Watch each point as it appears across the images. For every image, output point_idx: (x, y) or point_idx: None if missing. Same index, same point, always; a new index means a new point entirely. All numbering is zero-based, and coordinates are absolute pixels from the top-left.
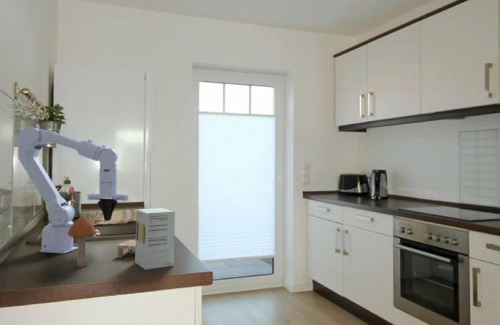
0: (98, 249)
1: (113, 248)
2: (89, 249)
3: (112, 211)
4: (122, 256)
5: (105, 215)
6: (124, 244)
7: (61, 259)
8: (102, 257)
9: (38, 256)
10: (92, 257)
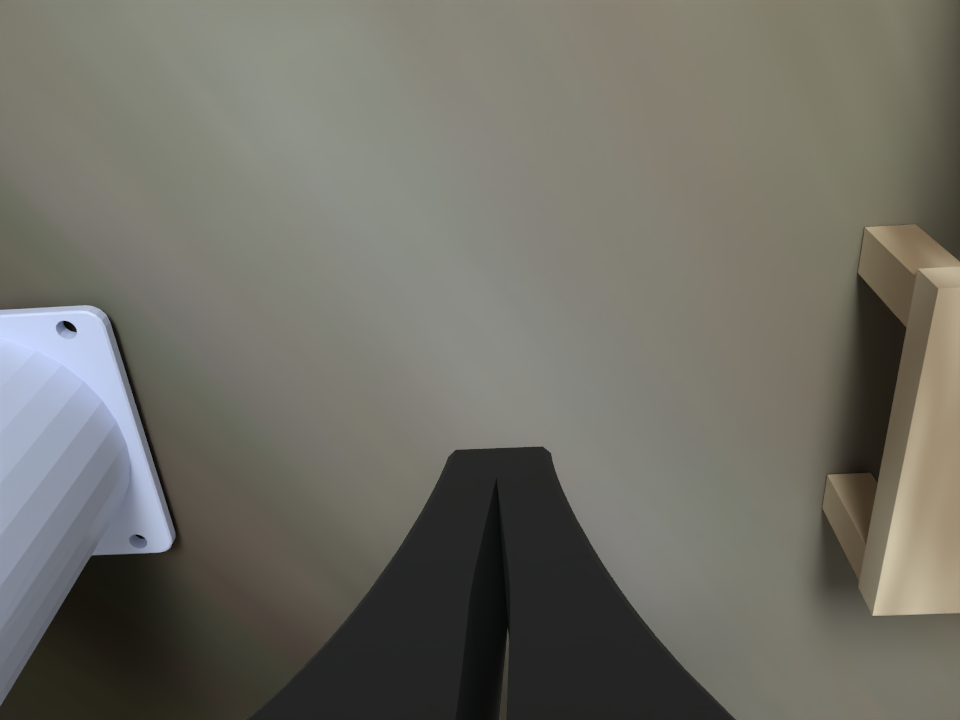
0: (377, 254)
1: (545, 136)
2: (264, 288)
3: (603, 598)
4: (871, 478)
5: (499, 682)
6: (953, 567)
7: None
8: (661, 547)
9: (37, 655)
10: None
